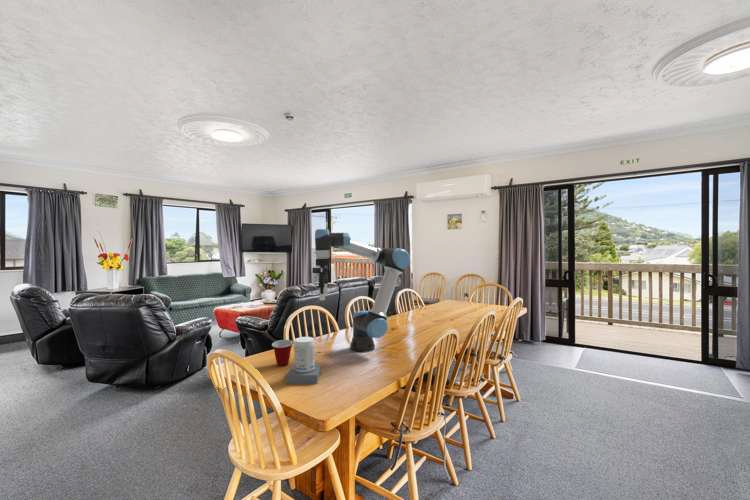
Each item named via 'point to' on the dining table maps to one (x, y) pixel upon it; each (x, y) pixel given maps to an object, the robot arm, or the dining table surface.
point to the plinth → (303, 376)
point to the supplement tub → (304, 354)
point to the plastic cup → (282, 351)
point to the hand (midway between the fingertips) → (323, 297)
